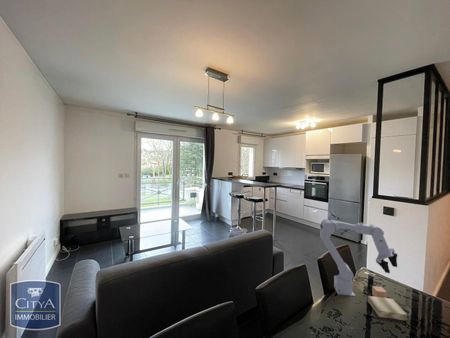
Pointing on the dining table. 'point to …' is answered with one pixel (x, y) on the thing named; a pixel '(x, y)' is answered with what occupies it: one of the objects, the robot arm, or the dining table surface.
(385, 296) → the terracotta cube
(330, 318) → the dining table surface
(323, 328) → the dining table surface
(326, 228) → the robot arm
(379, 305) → the birch base
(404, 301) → the dining table surface
